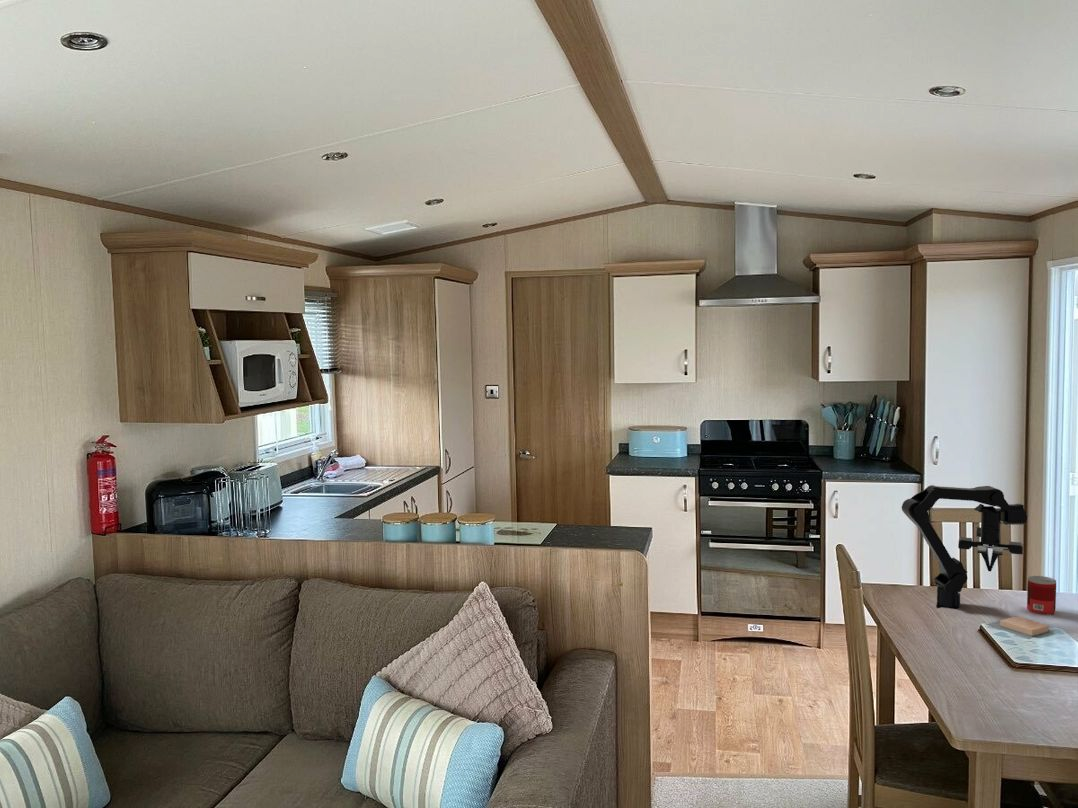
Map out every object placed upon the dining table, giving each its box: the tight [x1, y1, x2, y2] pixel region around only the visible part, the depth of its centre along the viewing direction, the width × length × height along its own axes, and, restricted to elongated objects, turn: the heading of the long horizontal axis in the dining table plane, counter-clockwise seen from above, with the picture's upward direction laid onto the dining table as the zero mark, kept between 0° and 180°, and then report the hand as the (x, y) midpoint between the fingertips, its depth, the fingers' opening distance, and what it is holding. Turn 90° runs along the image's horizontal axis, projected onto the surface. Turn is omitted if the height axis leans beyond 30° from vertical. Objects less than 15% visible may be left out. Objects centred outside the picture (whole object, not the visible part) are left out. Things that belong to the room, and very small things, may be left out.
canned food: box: [1026, 575, 1057, 616], centre depth 273 cm, size 8×8×11 cm
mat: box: [985, 620, 1054, 639], centre depth 258 cm, size 14×12×1 cm
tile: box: [999, 615, 1050, 637], centre depth 257 cm, size 2×8×10 cm
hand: (989, 571), depth 279 cm, fingers closed
